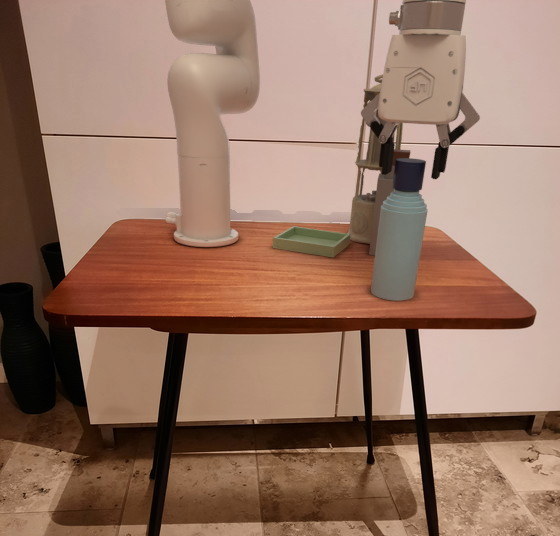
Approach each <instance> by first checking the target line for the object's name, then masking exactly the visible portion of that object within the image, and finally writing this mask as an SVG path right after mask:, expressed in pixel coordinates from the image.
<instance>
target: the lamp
mask: <svg viewBox="0 0 560 536" xmlns="http://www.w3.org/2000/svg"><path fill="white" fill-rule="evenodd" d="M382 78H383V74H379V75H377V76H375V77H374V78H373V79H374V82H375V83H377V84H376V85H373V86H372V87H370V88H363V92H364V96H363V109H364V108H365V107H366V106H367V105H368V104H369V103H370V102H371V101H372V100H373V99H374V98H375V97H376V96H377V95H378V94H379V93H380V90H381V84H382ZM375 115H376V117H377V119H378V120H379V121H380V122H381V123H382V124H383V126H385V124H386V122H387V121H384V120H382V119H381V118H380V117H379V115H378V109H377V110H376V112H375ZM365 125H366V126H367V127H368V128H369V135H368V143H367V151H366V157H365V159H361V152H362V145H363V136H364V128H365ZM403 126H404V123H399V125H398V127H397V129H396V132H395V133H394V135H393V137H392V138H393V142H394V143H395V147H394V149H398V150H402V149H401V147H402V139H403V138H402V137H403V128H404V127H403ZM395 134H396V136H395ZM357 148H358V151H357V156H356V160H355V162H354V163H355V165H356V166H357V169H358V171H357V178H356V185H355V194H354V196H353V197H352V200H351V210H350V219H349V227H348V230H347V232H346V234H351V236H350V241H351V242H355V243H359V244H367V245H370V241H371V233H372V224H373V215H374V207H375V198H376V190H371V192H366V193H365V194H363V189H364V179H365V174H364V173H365V171H366V170H369V171H375V172H376V171H377V172H378V171H379V173H380V174H382V167H379V159H380V150H381V143H380V142H379V139H378V138H377V136H376V135H375V134H374V132H373V131H372V130H371V128H370V126H369V125H368V124H367V122H366V121H365V120H364V118H363V117H362V120H361V125H360V129H359V138H358V146H357ZM361 169H362V172H361Z"/></svg>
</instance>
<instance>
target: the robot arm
mask: <svg viewBox="0 0 560 536" xmlns="http://www.w3.org/2000/svg"><path fill="white" fill-rule="evenodd" d="M164 2H165V3H164V4H165V10H166V15H167V20H168V25H169V29H170V32H171V33H172V35H173V36H174V37H175V38H176V39H177V40H178V41H180V42H181V43H184V44H185V43H186V44H190V45H194V46H195V45H197V46H209V47H215V53H208V52H207V53H206V52H192V53H191V52H190V53H186V54H183V55H180V56H179V57H178V58H176V59H175V60H174V61H173V62H172V63H171V65H170V67H169V70H168V73H167V78H166V79H167V84H166V85H167V92H168V96H169V101H170V104H171V109H172V114H173V120H174V128H175V138H176V139H175V140H176V154H177V165H178V166H177V168H178V171H177V172H178V186H179V187H178V189H179V209H180V213H178V212H171V211H168V213H166V217H165V224H166V225H175V227H176V230H175V231H174V232H173V238H174V241H175V242H177V243H179V244H181V245H184V246H190V247H196V248H216V247H224V246H229V245H233V244H234V243H236V242H238V240H239V232H238V231H237V230H236V229H234V228H231V155H230V153H231V152H230V139H229V135H228V132H227V129H226V126H225V124H224V122H223V120H222V117H221V116H222V115H241V114H245V113H247V112H249V111H250V110H252V109H253V108H254V106H255V105H256V104H257V101H258V100H259V96H260V92H261V91H260V90H261V71H260V60H259V47H258V34H257V33H258V32H257V24H256V23H257V22H256V16H255V11H254V7H253V4H252V2H251V0H164ZM401 3H402V4H400V7H399V9H398V10H396V11H394V12H393V11H391V12H390V13H389V17H388V24H389V25H394V26H395V27H397V30H398V34H392V35H391V38H390V42H389V44H388V49H387V53H386V59H385V63H384V66H383V67H384V68H383V72H382V75H383V78H381V79H382V84H381V83H380V84H381V90H380V93H379V94H378V95H377V96H376V97H375V98H374V99H373V100H372V101H370V102H368V103H369V104H368V103H367V104H368V105H367V106H366V107H365V108H364V107H363V108H362V109H361V111H360V115H361V117H362V119H363V118H364V120H365V121H364V122H365V123H366V122H367V124H368V125H369V126H370V127H369V129H370V128H371V130H372V131H373V132H374V134H375V135H376V136H377V138H378V139H379V142H380V143H381V150H380V159H379V167H382V175H386V174H388V173H390V172H391V171H392V164H393V155H394V149H395V146H396V142H395V141H394V142H393V138H392V137H393V135H394V133H395V134H396V132H397V127H398V125H399V123H403V124H414V125H416V124H417V125H435V128H436V132H437V135H438V140H439V142H438V144H437V147H435V149H434V155H433V160H432V161H433V163H432V169H431V176H430V178H431V179H432V180H438V179H439V178H440V176H441V173H443V174H444V173H445V171H446V168H447V167H446V166H447V161H448V155H449V149H450V146H452V144H453V143H455V142H456V141H457V140H458V139H460V137H462V136H463V135H464V134H465V133H466V132H468V131H469V130H470V129H471V128H472V127H474V126H475V125H476V124H477V123H478V122H479V121H480V119H481V116H480V114H479V113H478V111H477V110H476V109H475V108H474V105H472V103H471V102H470V100H469V99H468V98H467V97H466V95H465V94H464V92H463V91H464V83H465V82H464V81H465V71H466V58H467V57H466V55H467V40H466V35H463V34H462V29H463V22H464V15H465V10H466V3H467V0H402V1H401ZM377 109H378V115H379V117H380V118H381V119H382V120H384V121H387V122H386V124H385V126H383V124H382V123H381V122H380V121H379V120H378V119H377V117H376V115H375V112H376V110H377ZM460 111H461V113H462V114H463V115H464V120H463V121H462V122H461V123H460V124H459V125H457V126H456V127H455V128H453V130H451V127H450V123H452V122H454V121H456V120H457V119H458V117H459V115H460ZM394 136H395V135H394Z"/></svg>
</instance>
